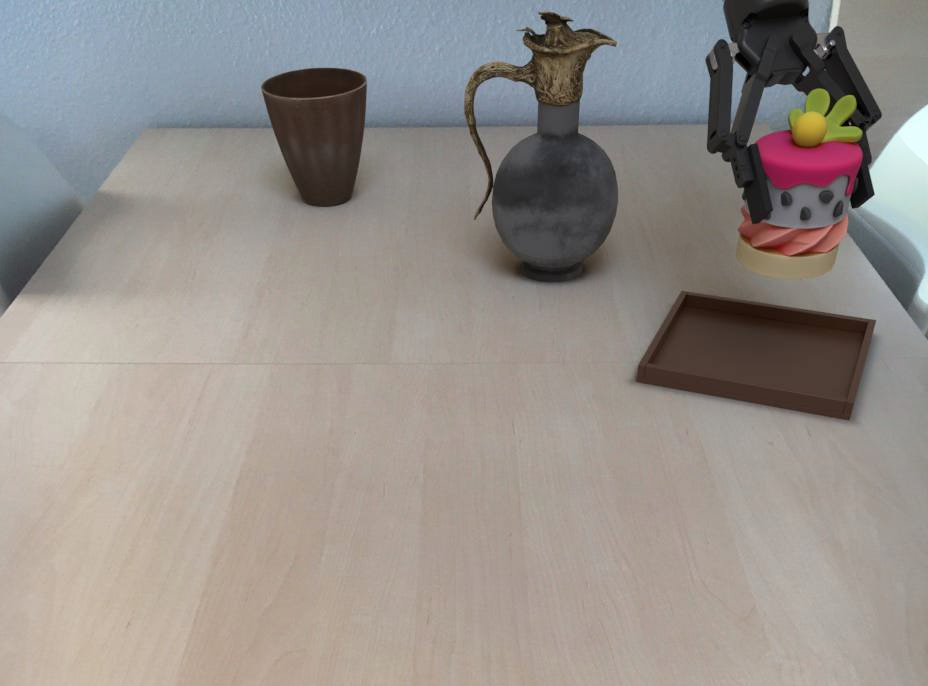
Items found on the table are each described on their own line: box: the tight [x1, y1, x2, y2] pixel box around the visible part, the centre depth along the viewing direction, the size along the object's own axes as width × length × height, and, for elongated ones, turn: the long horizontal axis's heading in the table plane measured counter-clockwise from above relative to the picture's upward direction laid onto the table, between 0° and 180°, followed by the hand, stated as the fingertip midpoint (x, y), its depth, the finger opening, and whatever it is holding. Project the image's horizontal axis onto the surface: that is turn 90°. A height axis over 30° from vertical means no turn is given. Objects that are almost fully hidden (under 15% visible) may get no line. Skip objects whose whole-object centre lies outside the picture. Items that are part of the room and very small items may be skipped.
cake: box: [735, 89, 863, 280], centre depth 100 cm, size 10×11×15 cm
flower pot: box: [260, 67, 368, 207], centre depth 150 cm, size 15×15×16 cm
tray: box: [636, 290, 877, 421], centre depth 115 cm, size 23×20×2 cm
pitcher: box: [463, 11, 619, 283], centre depth 124 cm, size 11×19×30 cm, turn 81°
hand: (813, 209), depth 99 cm, fingers closed on cake, 10 cm apart
